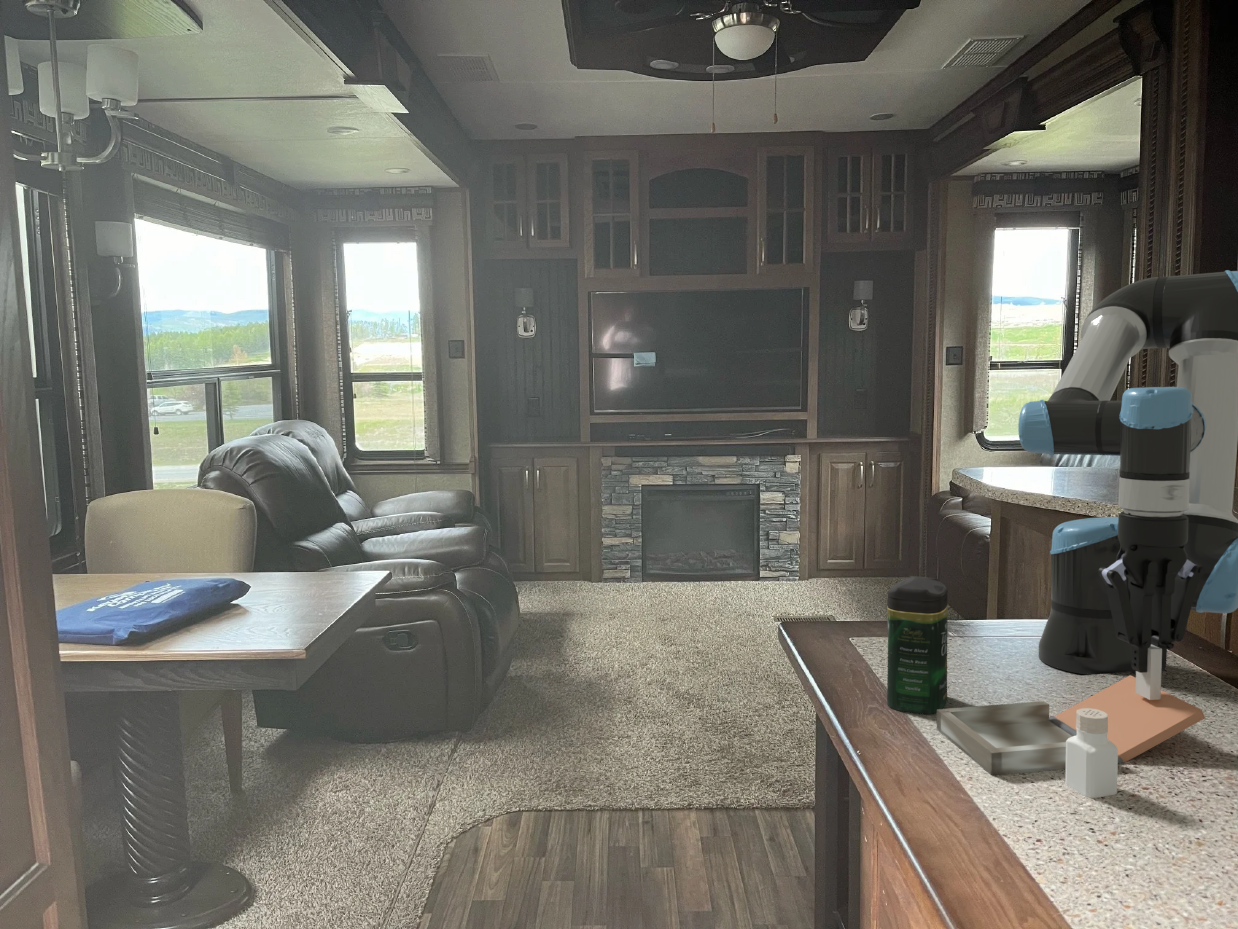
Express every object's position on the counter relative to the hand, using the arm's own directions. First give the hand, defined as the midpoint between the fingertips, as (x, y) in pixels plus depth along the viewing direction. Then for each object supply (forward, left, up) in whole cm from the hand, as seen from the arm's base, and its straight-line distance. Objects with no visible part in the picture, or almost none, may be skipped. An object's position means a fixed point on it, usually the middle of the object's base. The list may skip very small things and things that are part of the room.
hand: (1147, 695), depth 115 cm
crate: (+17, 0, -6) cm, 18 cm away
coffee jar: (+23, -17, -6) cm, 29 cm away
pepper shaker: (+16, +12, -6) cm, 21 cm away
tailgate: (+9, 0, -5) cm, 10 cm away
